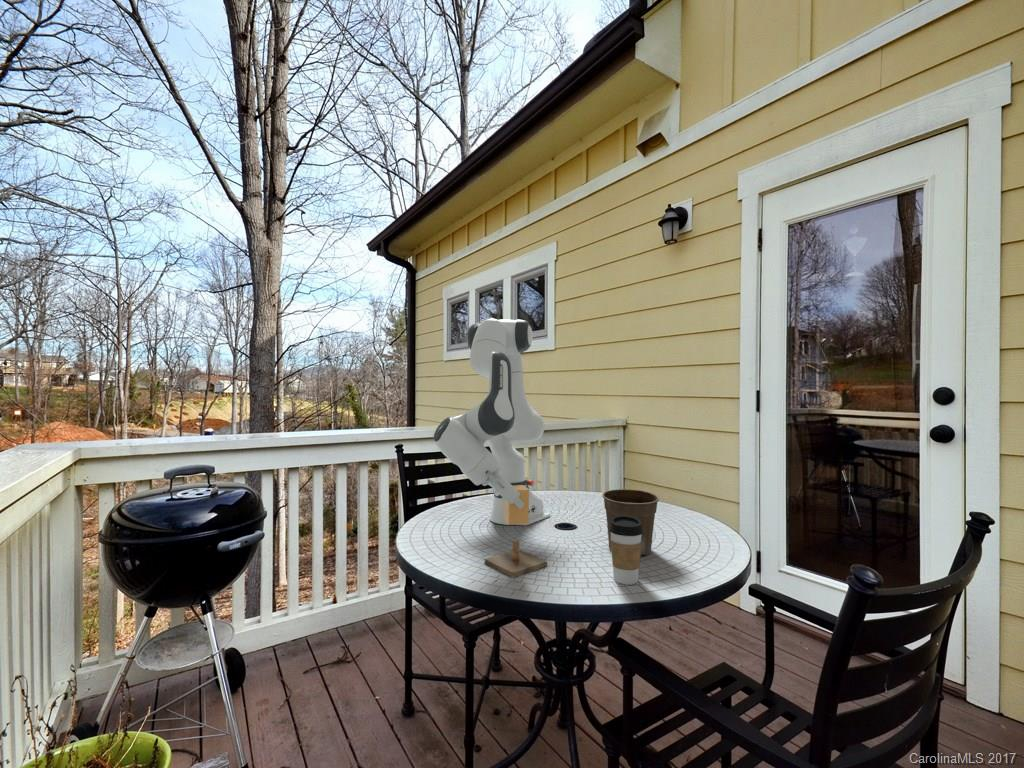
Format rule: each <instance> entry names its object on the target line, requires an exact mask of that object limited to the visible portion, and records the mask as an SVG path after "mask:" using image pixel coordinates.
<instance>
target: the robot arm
mask: <svg viewBox="0 0 1024 768" xmlns="http://www.w3.org/2000/svg"><path fill="white" fill-rule="evenodd" d="M466 334H467V335H466V342H467V345H468V348H469V350H470V353H469V365H470V367H471V369H472V370H473V371H474V372H475V373H476V374H477V375H479V376H480V377H482V378H486V379H489V381H488V394H487V395H486V397H485V398H484V399H483V400H482V401H481V402H479V403H478V404H477V405H475V406H474V407H472V408H470V409H468V410H467V411H465V412H463V413H462V414H459V415H457V416H453V417H450V416H449V417H446V418H444V419H443V420H442V421H441V422H440V423H439V425H438V426H437V428H436V429H435V431H434V434H433V443H434V444H435V446H436V447H437V448H438V450H439V451H440V452H441V453H442V454H443V455H444V456H445V457H446V459H448V460H449V461H450V462H451V463H452V464H454V465H456V466H457V467H459V469H460V470H461V471H460V472H462V474H464V475H465V476H466V477H467V478H468V479H469V480H470V481H471V482H472V483H473V484H474V485H475V486H479V485H482V486H484V487H486V486H490V487H491V488H492V492H493V500H492V506H491V507H492V508H491V512H490V517H489V521H491V522H492V523H495V524H499V525H507V526H510V525H509V524H508V523H507V522H506V521H505V520H504V499H505V500H506V501H507V502H508V503H509V504H513V503H514V504H515V505H516V506H517V507H519V508H520V509H521V508H522V507H523V506H524V503H523V502H522V501H521V500H520V498H519V496H520V493H519V492H518V491H517V490H516V489H515V488H514V487H513V486H515V485H523V486H525V487H526V488H528V489H529V523H525V524H513V525H512V526H516V525H517V526H529V525H531V524H534V523H536V522H539V521H541V520H544V519H547V518H549V517H550V516H551V514H550V512H549V511H547V510H546V509H544V503H543V500H542V498H541V497H540V496H538V495H537V494H536V493H534V492H533V491H532V490H531V489H530V486H531V487H534V484H535V481H534V480H531V479H526V459H525V457H524V455H523V454H522V453H521V452H520V451H518V450H517V449H516V447H515V446H514V444H513V442H519V443H529V442H537V441H538V440H540V439H541V437H542V436H543V434H544V431H545V421H544V419H543V417H542V416H541V414H539V412H537V411H536V410H535V409H534V408H533V407H532V406H531V404H530V402H529V401H528V397H527V396H526V391H525V385H524V384H525V383H524V371H523V370H524V369H523V361H522V355H523V354H524V353H525V352H526V351H528V350H529V349H530V347H531V346H532V342H533V339H534V334H533V330H532V327H531V324H530V323H529V322H528V321H527V320H525V319H524V320H523V319H515V320H514V319H496V318H488V319H485V320H483V321H481V322H475V323H473V324H471V325H470V326H469V328H468V329H467V333H466ZM485 443H487V445H488V447H489V448H490V451H489V449H487V447H485V445H484V444H485Z"/></svg>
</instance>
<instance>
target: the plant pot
mask: <svg viewBox="0 0 1024 768" xmlns="http://www.w3.org/2000/svg"><path fill="white" fill-rule="evenodd" d="M602 498H603V505H604V509H605V514H606V517H605V518H606V524H607V538H608V549H609V551H611V541H610V538H611V532H610V531H609V526H610V525H611V519H612V518H613V517H616V516H630V517H634V518H636V519H638V520H639V521H640V522H641V525H642V528H643V534H642V535H641V540H642V545H641V555H640V557H642V556H644V557H646V556H648V555H650V554H651V553H652V545H653V536H654V535H653V534H654V523H655V516H656V514H657V508H658V502H659V501H660V497H659V496H658V495H657V494H655V493H653V492H648V491H645V490H640V489H631V488H630V489H625V488H621V489H620V488H619V489H609V490H607V491H604V492H603V493H602Z"/></svg>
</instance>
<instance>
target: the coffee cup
mask: <svg viewBox="0 0 1024 768" xmlns="http://www.w3.org/2000/svg"><path fill="white" fill-rule="evenodd" d="M609 531H610V532H611V538H610V541H611V550H610V551H611V560H612V561H611V562H612V570H613V573H612V574H613V580H614V581H615V582H616V583H617V584H620V583H621V584H620V585H625V584H626V585H627V586H631V585H635V583H636V584H637V583H638V582H639V574H640V573H639V570H640V564H641V563H640V562H641V561H640V560H641V556H642V555H641V545H642V540H641V535H642V534H643V528H642V525H641V522H640V521H639V520H638V519H636V518H634V517H630V516H616V517H613V518H612V519H611V525H610V526H609ZM640 555H641V556H640Z"/></svg>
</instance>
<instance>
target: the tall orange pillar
mask: <svg viewBox="0 0 1024 768" xmlns="http://www.w3.org/2000/svg"><path fill="white" fill-rule="evenodd" d="M513 487H514V488H515V489H516V490H517V491H518V492H519V493H520V496H519V498H520V500H521V501H522V502H523V503H524V506H523V507H522V508H521V509H520V508H519V507H517V506H516V505H515V504H514V503H513V504H509V503H508V502H507V501H506V500H505V499H504V520H505V521H506V522H507V523H508V524H509V525H508V526H510V525H511V526H514V525H513V524H525V523H529V490H530V488H529V489H528V488H526V487H525V486H523V485H515V486H513Z"/></svg>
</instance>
